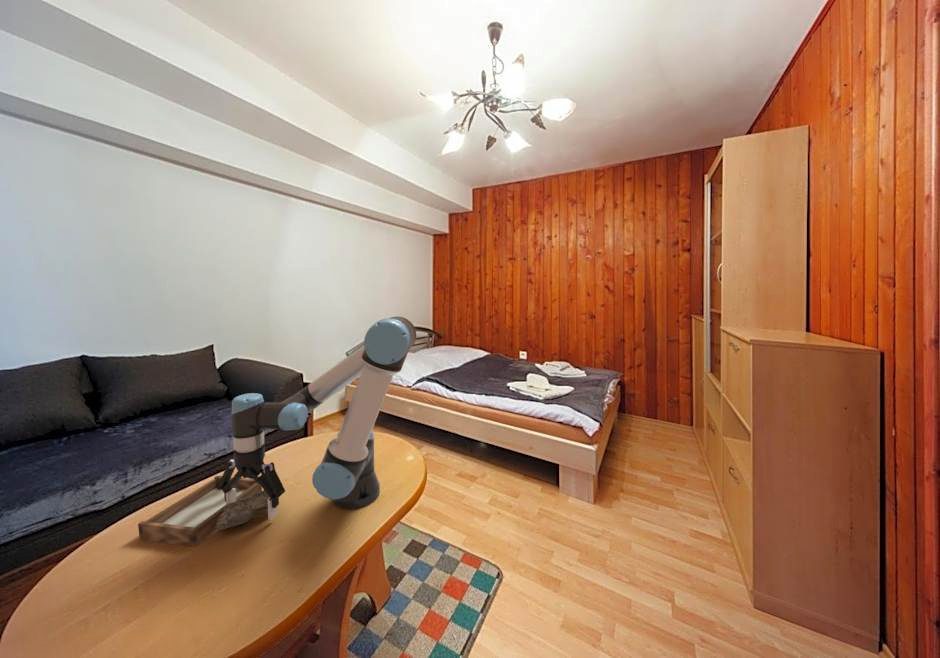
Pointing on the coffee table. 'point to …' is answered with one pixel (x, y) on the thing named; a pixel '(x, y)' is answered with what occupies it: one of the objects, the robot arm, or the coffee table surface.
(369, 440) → the robot arm
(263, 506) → the rock
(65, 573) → the coffee table surface
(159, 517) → the wooden tray
